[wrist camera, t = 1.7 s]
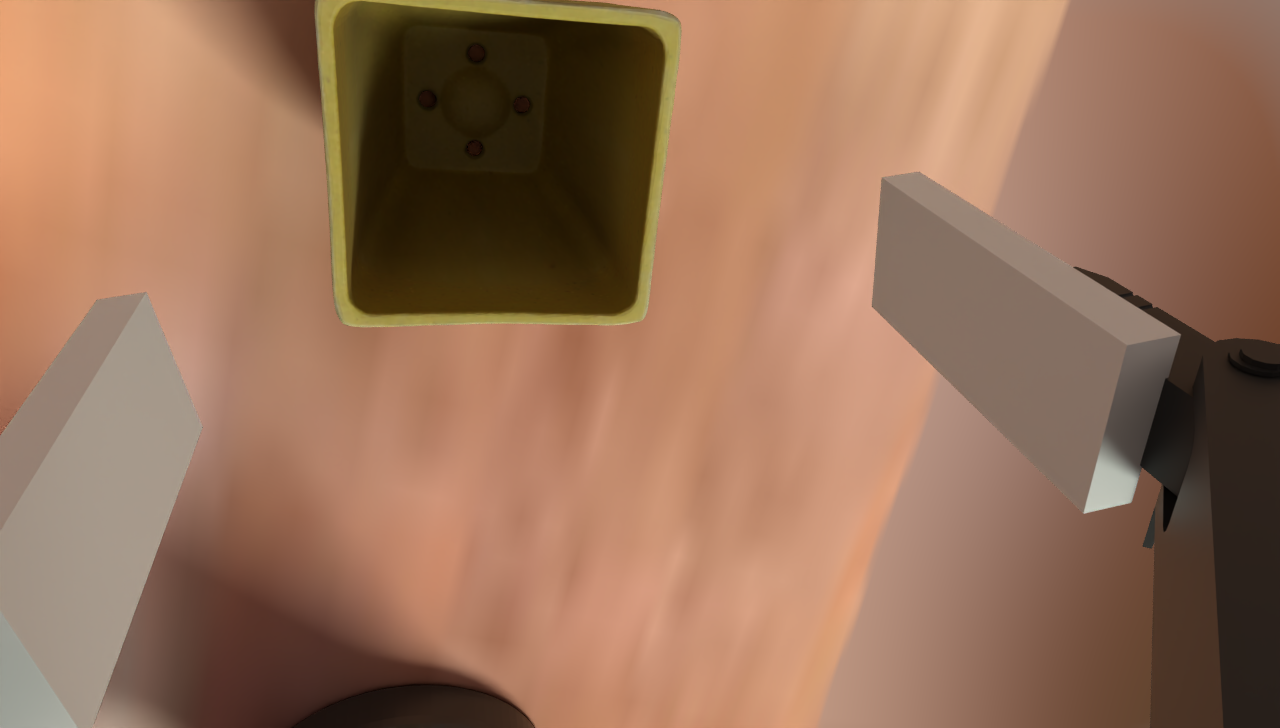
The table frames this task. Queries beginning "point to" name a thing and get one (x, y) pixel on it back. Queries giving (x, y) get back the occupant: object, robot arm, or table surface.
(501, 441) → the table surface
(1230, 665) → the robot arm
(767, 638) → the table surface
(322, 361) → the table surface
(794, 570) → the table surface
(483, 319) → the flower pot
